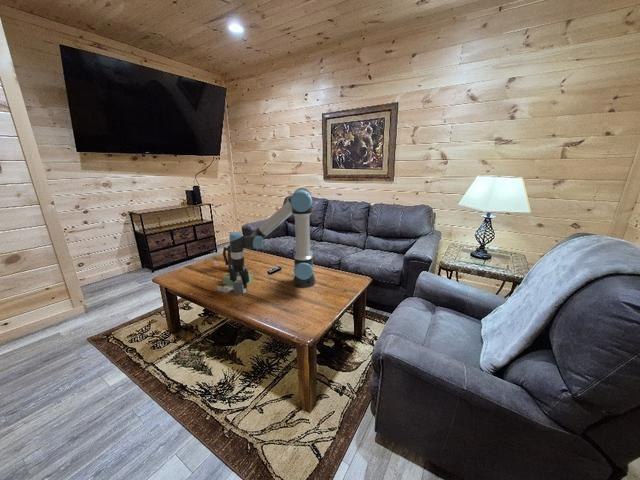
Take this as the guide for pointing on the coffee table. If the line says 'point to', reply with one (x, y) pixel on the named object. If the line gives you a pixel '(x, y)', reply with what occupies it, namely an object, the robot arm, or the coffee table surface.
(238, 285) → the tall grey cuboid
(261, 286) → the coffee table surface
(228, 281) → the green base with dome
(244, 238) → the robot arm
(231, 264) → the beer stein
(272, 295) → the coffee table surface
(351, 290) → the coffee table surface
